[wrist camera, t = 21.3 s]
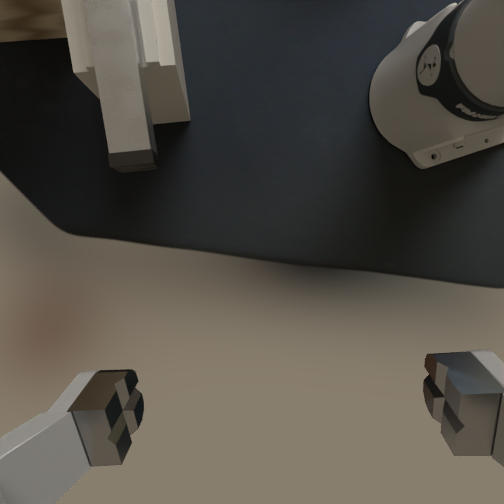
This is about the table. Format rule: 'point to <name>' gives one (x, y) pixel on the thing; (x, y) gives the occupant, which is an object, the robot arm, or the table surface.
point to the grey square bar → (122, 85)
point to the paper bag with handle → (31, 20)
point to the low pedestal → (153, 52)
